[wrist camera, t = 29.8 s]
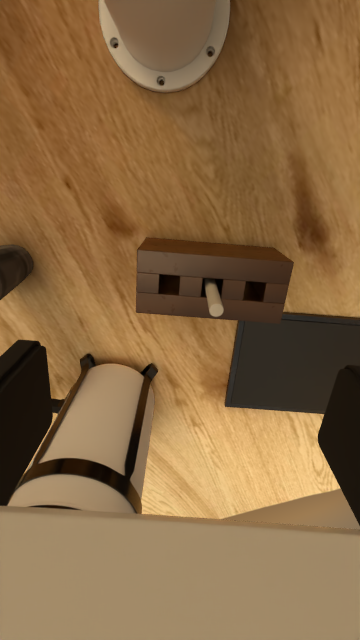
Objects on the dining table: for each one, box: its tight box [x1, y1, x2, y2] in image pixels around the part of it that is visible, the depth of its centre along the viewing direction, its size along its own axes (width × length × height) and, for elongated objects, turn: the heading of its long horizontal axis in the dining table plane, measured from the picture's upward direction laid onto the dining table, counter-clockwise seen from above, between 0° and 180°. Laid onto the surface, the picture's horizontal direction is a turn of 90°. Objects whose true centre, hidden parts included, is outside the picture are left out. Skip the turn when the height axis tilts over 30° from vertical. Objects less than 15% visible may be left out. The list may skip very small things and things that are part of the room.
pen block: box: [136, 238, 294, 324], centre depth 38 cm, size 7×16×8 cm, turn 86°
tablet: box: [225, 312, 360, 414], centre depth 46 cm, size 22×16×1 cm
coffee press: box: [6, 354, 158, 514], centre depth 35 cm, size 17×16×30 cm
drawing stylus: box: [203, 278, 224, 317], centre depth 35 cm, size 1×1×14 cm
